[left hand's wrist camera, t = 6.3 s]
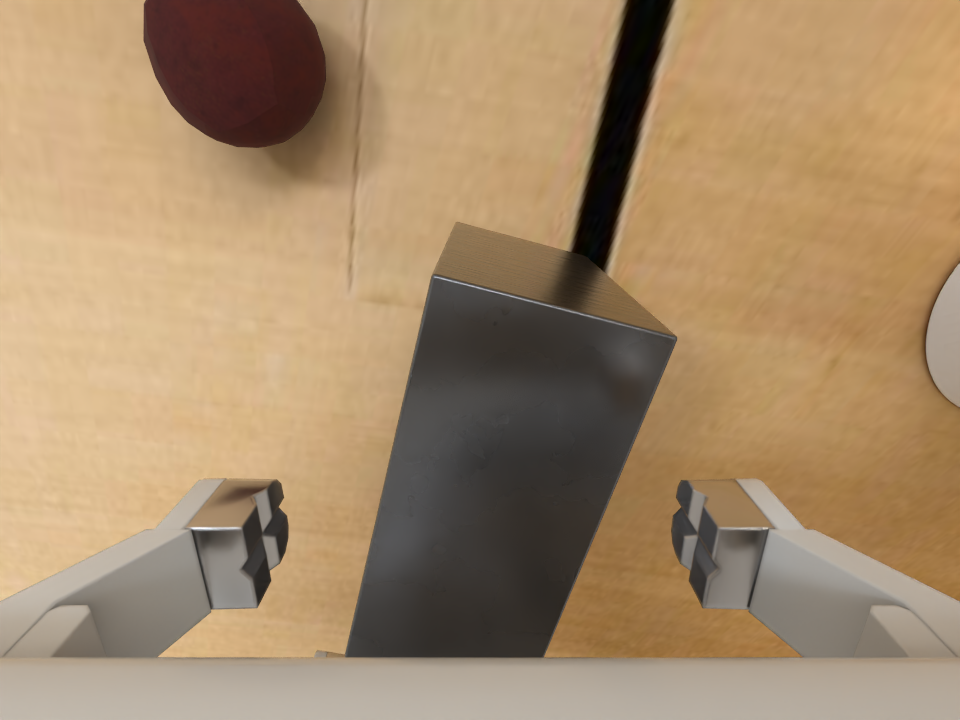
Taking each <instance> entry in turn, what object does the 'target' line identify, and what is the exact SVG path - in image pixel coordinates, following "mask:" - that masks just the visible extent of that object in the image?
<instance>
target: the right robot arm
mask: <svg viewBox="0 0 960 720" xmlns="http://www.w3.org/2000/svg"><path fill="white" fill-rule="evenodd" d="M926 358H927V364H928V368H929V371H930V374H931V376H932V379H933V381H934V383H935V384H936V386H937V387H938V389H939V390H940V391H941V393H942V394H943V395H944V396H945V397H946V398H947V399H948V400H949V401H951V402H952V403H953V404H955V405H956V406H958V407H960V263H959V264H958V265H957V267H956V268H955V269H954V271H953V272H952V274H951V275H950V276H949V278H948V280H947V281H946V283H945V285H944V286H943V288H942V290H941V292H940V294H939V296H938V298H937V300H936V302H935V305H934V307H933V310H932V313H931V316H930V320H929V324H928V329H927V335H926ZM314 657H345V654H339V653H333V652H327V651H320V650H317V652H316V653H315V656H314Z"/></svg>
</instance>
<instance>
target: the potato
mask: <svg viewBox="0 0 960 720" xmlns="http://www.w3.org/2000/svg"><path fill="white" fill-rule="evenodd" d="M144 43H145V46H146V49H147V52H148V55H149V58H150V61H151V64H152V67H153V70H154V73H155V76H156V79H157V80H158V82H159V84H160V86H161V87H162V89H163V91H164V93H165V95H166V96H167V98H168V100H169V102H170V103H171V105H172V106H173V107H174V108H175V109H176V110H177V111H178V112H179V113H180V115H181V116H182V117H183V118H184V119H185V120H186V121H187V122H188V123H189V124H191V125H192V126H194V127H195V128H197V129H198V130H200V131H201V132H203V133H204V134H205V135H207V136H209V137H211V138H213V139H215V140H217V141H220V142H223V143H226V144H229V145H233V146H236V147H253V148H259V147H266V146H270V145H274V144H278V143H282V142H285V141H286V140H288V139H289V138H291V137H292V136H294V135H295V134H296V133H298V132H299V131H300V130H302V129H303V128H304V126H305V125H306V124H307V123H308V121H309V120H310V119H311V117H312V116H313V115H314V113H315V110H316V108H317V106H318V104H319V102H320V100H321V98H322V94H323V90H324V85H325V81H326V67H325V55H324V51H323V48H322V45H321V42H320V39H319V36H318V33H317V30H316V27H315V25H314V23H313V22H312V20H311V19H310V18H309V16H308V15H307V13H306V12H305V11H304V9H303V8H302V7H301V5H300V4H299V2H298V1H297V0H146V1H145V3H144Z"/></svg>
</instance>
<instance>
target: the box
mask: <svg viewBox="0 0 960 720" xmlns="http://www.w3.org/2000/svg"><path fill="white" fill-rule="evenodd" d="M676 341H677V337H676V336H675V335H674V334H673V333H672V332H671V331H670V330H669V329H667V328H666V327H665V326H664V325H663V324H662V323H661V322H659V321H658V320H657V319H656V318H655V317H654V316H653V315H652V314H650V313H649V312H648V311H647V310H646V309H645V308H644V307H642V306H641V305H640V304H639V303H638V302H637V301H636V300H635V299H633V298H632V297H631V296H630V295H629V294H628V293H627V292H625V291H624V290H623V289H622V288H621V287H620V286H619V285H618V284H616V283H615V282H614V281H613V280H612V279H611V278H610V277H609V276H607V275H606V274H605V273H604V272H603V271H602V270H601V269H599V268H598V267H597V266H596V265H595V264H594V263H593V262H592V261H590V260H589V259H588V258H587V257H586V256H583V255H579V254H575V253H572V252H568V251H564V250H560V249H557V248H553V247H549V246H546V245H542V244H538V243H534V242H531V241H527V240H523V239H519V238H516V237H512V236H508V235H504V234H501V233H497V232H493V231H489V230H486V229H482V228H478V227H475V226H471V225H467V224H463V223H460V222H456V223H455V225H454V227H453V230H452V232H451V234H450V236H449V238H448V241H447V243H446V245H445V247H444V250H443V252H442V254H441V256H440V258H439V261H438V263H437V265H436V267H435V270H434V272H433V274H432V276H431V280H430V285H429V289H428V293H427V298H426V302H425V307H424V311H423V315H422V320H421V324H420V328H419V333H418V337H417V342H416V346H415V350H414V355H413V359H412V363H411V368H410V372H409V377H408V381H407V385H406V390H405V394H404V399H403V403H402V407H401V412H400V416H399V420H398V425H397V429H396V434H395V438H394V442H393V447H392V451H391V456H390V460H389V464H388V469H387V473H386V477H385V482H384V486H383V491H382V495H381V499H380V504H379V508H378V512H377V517H376V521H375V526H374V530H373V534H372V539H371V543H370V548H369V552H368V556H367V561H366V565H365V569H364V574H363V578H362V583H361V587H360V591H359V596H358V600H357V605H356V609H355V613H354V618H353V622H352V626H351V631H350V635H349V640H348V644H347V648H346V653H345V657H464V658H544V655H545V653H546V651H547V648H548V646H549V643H550V641H551V639H552V636H553V634H554V631H555V629H556V627H557V624H558V622H559V620H560V617H561V615H562V612H563V610H564V608H565V605H566V603H567V601H568V598H569V596H570V593H571V591H572V589H573V586H574V584H575V582H576V579H577V577H578V574H579V572H580V570H581V567H582V565H583V562H584V560H585V558H586V555H587V553H588V551H589V548H590V546H591V543H592V541H593V539H594V536H595V534H596V532H597V529H598V527H599V524H600V522H601V520H602V517H603V515H604V512H605V510H606V508H607V505H608V503H609V501H610V498H611V496H612V493H613V491H614V489H615V486H616V484H617V482H618V479H619V477H620V474H621V472H622V470H623V467H624V465H625V463H626V460H627V458H628V455H629V453H630V451H631V448H632V446H633V443H634V441H635V439H636V436H637V434H638V432H639V429H640V427H641V424H642V422H643V420H644V417H645V415H646V413H647V410H648V408H649V405H650V403H651V401H652V398H653V396H654V394H655V391H656V389H657V386H658V384H659V382H660V379H661V377H662V374H663V372H664V370H665V367H666V365H667V363H668V360H669V358H670V355H671V353H672V351H673V348H674V346H675V344H676Z"/></svg>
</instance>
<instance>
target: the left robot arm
mask: <svg viewBox="0 0 960 720" xmlns="http://www.w3.org/2000/svg"><path fill="white" fill-rule="evenodd" d="M283 498H284V495H283V490H282V485H281V483H280V482H279V481H278V480H277V479H226V478H205V479H202V480H198V481H197V483H196V484H195V485H194V486H193V487H192V488H191V489H190V490H189V491H188V493H187V494H186V495H185V496H184V497H183V498H182V499H181V500H180V501H179V503H178V504H177V505H176V506H175V507H174V508H173V509H172V510H171V511H170V512H169V514H168V515H167V516H166V517H165V518H164V519H163V520H162V521H161V522H160V524H159V525H158V526H157V527H156V528H155V529H146V530H144V531H142V532H140V533H138V534H136V535H134V536H132V537H130V538H128V539H126V540H124V541H121V542H119V543H117V544H115V545H113V546H111V547H109V548H107V549H105V550H103V551H101V552H99V553H97V554H95V555H93V556H91V557H89V558H87V559H85V560H83V561H81V562H79V563H77V564H75V565H73V566H71V567H69V568H67V569H65V570H63V571H61V572H59V573H57V574H55V575H52V576H50V577H48V578H46V579H44V580H42V581H40V582H38V583H36V584H34V585H32V586H30V587H28V588H26V589H24V590H22V591H20V592H18V593H16V594H14V595H12V596H10V597H8V598H6V599H4V600H2V601H0V720H960V601H958V600H956V599H954V598H952V597H950V596H948V595H946V594H944V593H942V592H940V591H938V590H936V589H934V588H932V587H929V586H927V585H925V584H923V583H921V582H919V581H917V580H915V579H913V578H911V577H909V576H907V575H905V574H903V573H901V572H899V571H897V570H895V569H893V568H891V567H889V566H887V565H885V564H883V563H881V562H879V561H877V560H875V559H873V558H871V557H869V556H867V555H865V554H863V553H861V552H859V551H857V550H855V549H853V548H851V547H849V546H847V545H845V544H843V543H840V542H838V541H836V540H834V539H832V538H830V537H828V536H826V535H824V534H822V533H820V532H818V531H816V530H814V529H805V528H804V527H803V526H802V525H801V524H800V522H799V521H798V520H797V519H796V518H795V517H794V516H793V515H792V514H791V513H790V511H789V510H788V509H787V508H786V507H785V506H784V505H783V504H782V503H781V501H780V500H779V499H778V498H777V497H776V496H775V495H774V494H773V493H772V491H771V490H770V489H769V488H768V487H767V486H766V485H765V484H764V483H763V481H761V480H759V479H757V478H742V479H720V480H681V482H680V484H679V486H678V489H677V495H676V498H677V500H678V502H679V504H680V505H681V508H680V509H679V510H678V511H677V512H676V513H675V514H674V515H673V520H672V528H671V532H672V544H673V547H674V550H675V554H676V556H677V558H678V560H679V562H680V564H682V565H683V566H684V567H686V568H687V569H689V570H690V577H689V582H690V584H691V586H692V588H693V590H694V592H695V594H696V596H697V598H698V600H699V602H700V604H701V606H702V608H715V609H749V612H750V613H751V614H752V615H753V616H754V617H756V618H757V619H758V620H759V621H760V622H762V623H763V624H764V625H765V626H766V627H768V628H769V629H770V630H771V631H772V632H774V633H775V634H776V635H777V636H778V637H780V638H781V639H782V640H783V641H784V642H786V643H787V644H788V645H789V646H790V647H792V648H793V649H794V650H795V651H796V652H798V653H799V654H800V655H801V656H802V657H756V658H464V657H256V658H176V657H158V656H159V655H160V654H161V653H162V652H164V651H165V650H166V649H167V648H168V647H170V646H171V645H172V644H173V643H174V642H176V641H177V640H178V639H179V638H181V637H182V636H183V635H184V634H185V633H187V632H188V631H189V630H190V629H191V628H193V627H194V626H195V625H196V624H197V623H199V622H200V621H201V620H202V619H203V618H205V617H206V616H207V615H208V614H209V613H211V609H244V608H258V606H259V604H260V602H261V600H262V598H263V596H264V594H265V592H266V590H267V588H268V586H269V584H270V582H271V577H270V570H271V569H273V568H274V567H276V566H277V565H278V564H280V562H281V560H282V558H283V556H284V554H285V551H286V546H287V542H288V519H287V515H286V514H285V513H284V512H283V511H282V510H281V509H280V508H279V505H280V504H281V502H282V500H283Z"/></svg>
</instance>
